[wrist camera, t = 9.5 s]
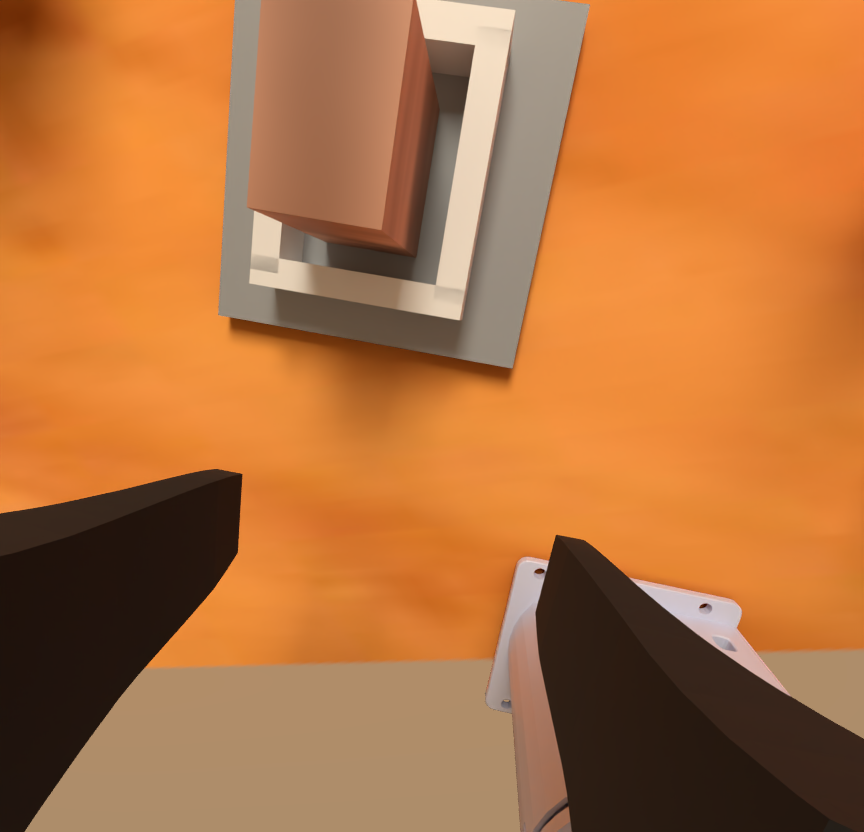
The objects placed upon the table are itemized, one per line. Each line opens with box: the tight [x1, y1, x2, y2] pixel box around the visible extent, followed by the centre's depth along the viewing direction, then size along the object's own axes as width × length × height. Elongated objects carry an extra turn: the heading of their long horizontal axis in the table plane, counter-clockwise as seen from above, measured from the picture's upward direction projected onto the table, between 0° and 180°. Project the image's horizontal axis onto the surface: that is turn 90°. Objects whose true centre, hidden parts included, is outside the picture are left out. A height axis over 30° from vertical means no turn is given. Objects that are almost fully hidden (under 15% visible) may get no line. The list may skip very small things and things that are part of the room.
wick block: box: [247, 0, 440, 258], centre depth 14 cm, size 4×5×6 cm
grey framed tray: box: [218, 0, 590, 368], centre depth 16 cm, size 12×12×3 cm
